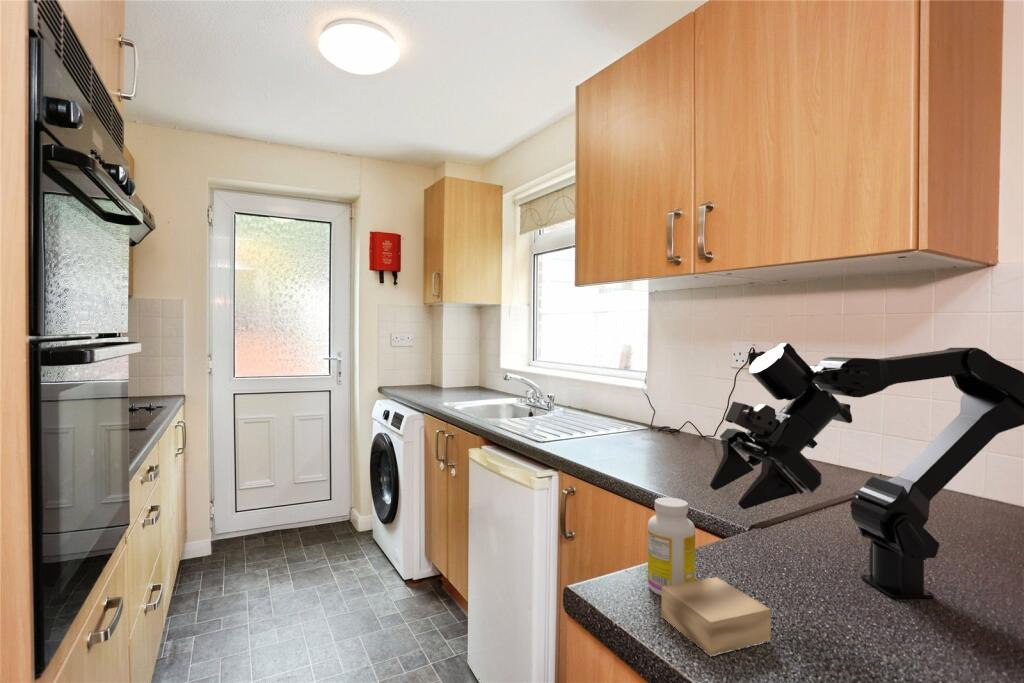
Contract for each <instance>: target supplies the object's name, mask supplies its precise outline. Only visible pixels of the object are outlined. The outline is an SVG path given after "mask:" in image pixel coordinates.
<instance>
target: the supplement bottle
mask: <svg viewBox="0 0 1024 683" xmlns="http://www.w3.org/2000/svg"><path fill="white" fill-rule="evenodd" d="M654 510H655V512H656V513H655V514H654V515H653V516H651V517H650V518H649V519H648V522H647V585H648V588H649V589H650V590H651V591H652V592H653V593H655V594H656V595H657V596H661V597H662V587H664V586H670V585H675V584H681V583H686V582H692V581H696V527H695V525H694V522H692V521H691V520H690V519H689V518H688V517H687V516H688V513H689V503H688V502H687V501H685V500H684V499H680V498H676V497H668V496H667V497H666V496H665V497H659V498H655V500H654Z"/></svg>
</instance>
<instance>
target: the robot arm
mask: <svg viewBox="0 0 1024 683" xmlns="http://www.w3.org/2000/svg"><path fill="white" fill-rule="evenodd" d="M748 372H749V374H751V375H752V377H753V378H755V380H756V381H757V382H758V383H759V384H760V385H761V386H762V387H763V388H764V389H765V390H766V391H767V392H768V393H769V394H770V395H771V396H772V398H774V399H775V400H778V401H781V400H786V401H788V403H787V404H786V405H785V406H784V407H783V408H781V410H780V411H779V412H777V411H776V408H774V407H772V406H770V405H768V404H764V403H758V405H756V406H755V407H754V406H752V405H750V404H749V405H748V404H746V403H743V402H738V401H732V403H731V406H730V407H729V409H728V412H727V413H726V416H725V418H724V421H725V422H728V423H730V424H735V425H737V426H739V427H741V428H744V429H746V430H747V431H744V430H740V429H737V428H726V429H725V430H724V431H723V432H722V433H721V434H720V435H719V438H720V445H721V446H722V452H723V454H722V458H721V461H720V463H719V465H718V467H717V469H716V471H715V473H714V475H713V476H712V479H711V481H710V483H709V487H710V488H711V489H712V490H713V491H718V490H719V489H721V488H724V487H726V486H728V485H729V484H731V483H733V482H735V481H737V480H738V479H740V478H742V477H744V476H746V475H748V474H749V473H751V472H753V471H755V468H754V467H755V466H758V465H760V464H761V472H760V473H759V475H758V476H757V477H756V478H755V480H754V481H753V482H752V484H750V486H749V487H748V489H746V491H745V492H744V493H743V494H742V496H741V498H740V499H739V501H738V502H737V505H738V507H740V508H741V509H742V510H747V509H751V508H754V507H756V506H759V505H762V504H765V503H768V502H772V501H775V500H778V499H783V498H786V497H789V496H793V495H802V494H804V491H805V492H807V493H810V494H811V495H812V494H813V493H814V491H816V490H817V489H818V488H819V487H820V486H821V485H822V473H821V472H820V471H819V470H818V469H817V468H816V467H815V466H814V465H813V463H812V462H811V461H810V460H809V459H807V457H806V456H805V455H804V454H803V453H801V452H802V451H803V450H804V449H805V448H806V447H807V448H810V449H814V448H815V447H817V445H819V444H818V442H816V440H815V438H816V437H817V436H818V435H819V434H820V433H821V432H822V431H823V430H824V429H825V428H826V427H827V426H828V425H829V424H830V423H831V422H832V421H837V422H841V423H845V424H851V423H853V416H852V415H853V414H852V413H851V405H850V404H848V403H843V402H842V403H841V402H840V401H839V400H838V399H837V398H836V397H835V396H834V395H836V396H843V397H851V398H864V397H868V396H870V395H873V394H877V393H879V392H880V393H881V392H883V391H884V390H886V389H887V388H888V387H891V386H893V385H897V384H903V383H911V382H918V381H919V382H920V381H926V380H933V379H940V378H946V377H947V378H948V377H951V380H952V382H953V385H954V386H955V388H957V390H959V391H960V392H962V393H963V394H962V396H960V397H961V398H960V408H959V409H960V412H959V413H958V415H956V417H954V419H953V420H951V422H950V423H948V425H947V426H945V428H943V429H942V431H940V433H938V434H937V436H935V437H934V438H933V439H932V440H931V442H929V444H927V446H925V447H924V448H923V449H922V450H921V451H920V452H919V454H917V455H916V456H915V457H914V458H913V459H912V460H911V461H910V462H909V463H908V464H907V465H906V466H905V467H904V468H902V470H901V471H900V472H899V473H898V474H897V475H896V476H894V477H892V478H889V479H884V478H882V477H879V476H875V475H873V476H871V477H870V478H868V479H867V481H866V482H865V483H864V485H863V486H862V487H861V488H859V489H858V490H855V491H854V492H853V494H854V495H856V496H854V498H853V499H852V501H851V503H850V514H851V518H852V520H853V521H854V523H855V524H856V526H857V527H858V530H859V533H860V535H861V537H863V538H867V539H869V541H870V546H869V562H868V563H869V568H868V569H869V574H860V579H862V580H863V581H864V582H865V583H867V584H869V585H870V586H872V587H874V588H875V589H877V590H879V591H880V592H882V593H884V594H885V595H887V596H888V597H890V598H894V599H923V598H925V599H932V598H935V593H933V592H932V591H930V590H928V589H927V588H925V561H926V560H927V559H935V558H936V557H937V554H938V551H939V549H940V546H941V544H940V542H939V541H938V540H937V539H936V538H934V536H932V534H931V533H929V531H928V530H927V529H926V528H925V525H926V524H927V523H928V521H929V516H930V503H931V501H932V500H933V499H934V497H936V495H937V494H938V493H940V491H942V489H944V488H945V487H946V486H947V485H948V484H949V483H950V482H951V481H952V480H953V479H954V477H956V476H957V475H958V474H959V473H960V472H961V471H962V470H963V469H964V468H965V467H966V466H967V465H968V464H969V463H970V462H971V461H972V460H973V459H974V458H975V457H976V456H977V455H978V454H979V453H980V452H981V451H982V450H983V449H984V448H985V447H986V446H987V445H988V444H989V443H990V442H991V441H992V440H993V439H994V438H995V437H996V436H997V435H999V434H1001V433H1004V432H1007V431H1010V430H1013V429H1015V428H1019V427H1021V426H1024V372H1023V371H1021V370H1020V369H1018V368H1015V367H1013V366H1011V365H1010V364H1009V365H1008V364H1007V363H1004V362H1003V361H1000V360H998V359H996V358H994V357H993V355H991V354H989V353H988V352H987V351H985V350H983V349H980V348H978V347H948V348H946V349H942V350H937V351H936V350H935V351H929V352H919V353H912V354H906V355H898V356H889V357H883V358H867V357H842V356H841V357H838V356H829V357H828V356H827V357H825V358H823V359H821V360H820V361H819V363H818V364H817V365H809V364H807V362H806V361H805V360H804V359H803V358H802V357H801V356H800V355H799V354H798V353H797V351H796V350H795V348H794V347H793V346H792V345H791V344H790V343H787V342H785V343H784V342H783V343H779V344H777V346H776V347H775V348H773V349H770V350H768V351H766V352H765V353H763V354H762V355H760V356H759V355H758V356H757V357H756V358H755V359H754V360H753V361H752V363H751V364H750V365H749V367H748Z"/></svg>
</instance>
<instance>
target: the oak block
mask: <svg viewBox="0 0 1024 683" xmlns="http://www.w3.org/2000/svg"><path fill="white" fill-rule="evenodd" d="M771 614H772V613H771V608H769V607H767V606H766V605H764V604H763V603H761V602H760V601H758V600H756V599H754V598H753V597H751V596H749V595H747V594H746V593H744V592H742V591H741V590H739V589H738V588H736V587H734V586H733V585H731V584H729V583H728V582H726V581H725V580H722V579H721V578H719V577H717V576H715V577H710V578H709V577H708V578H703V579H700V580H698V579H697V580H695V581H692V582H686V583H681V584H675V585H670V586H664V587H662V596H661V617H662V619H663V618H664V619H665V620H666V621H667V622H668V624H669V623H670V624H671V625H672V626H673V627H672V626H671V625H670V624H669V625H670V626H671V627H672V628H674V627H675V628H676V629H677V630H679V633H680V632H681V633H682V634H683V635H684V637H685V636H686V637H687V638H689V639H690V640H691V641H693V642H694V643H695V644H697V645H698V646H699V647H701V648H702V649H703V650H705V651H706V652H707V653H708V654H710V655H712V654H716V653H719V652H726V651H729V650H734V649H738V648H741V647H745V646H750V645H754V644H759V643H762V642H766V641H770V642H771V633H772V632H771V630H772V629H771V624H772V623H771V617H772V616H771ZM664 619H663V620H664ZM665 620H664V621H665ZM666 621H665V622H666ZM667 622H666V623H667ZM675 628H674V629H675ZM676 629H675V630H676ZM677 630H676V631H677ZM681 633H680V634H681ZM682 634H681V635H682ZM683 635H682V636H683ZM686 637H685V638H686ZM687 638H686V639H687ZM690 640H689V641H690ZM691 641H690V642H691Z"/></svg>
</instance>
